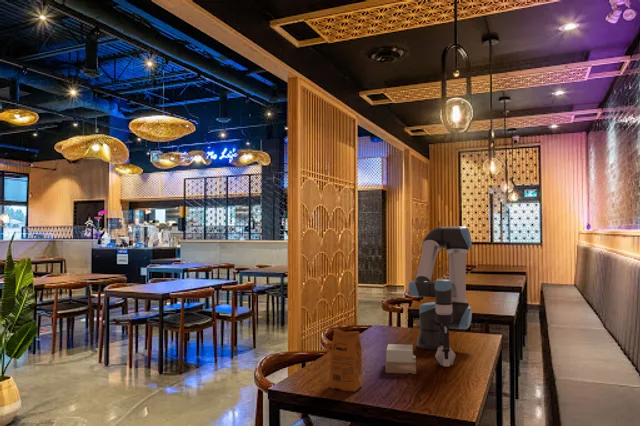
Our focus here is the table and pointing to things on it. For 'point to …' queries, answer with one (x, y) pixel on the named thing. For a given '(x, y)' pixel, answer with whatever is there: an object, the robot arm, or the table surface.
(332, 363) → the coffee package
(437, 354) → the die
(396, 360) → the top slab
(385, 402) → the table surface
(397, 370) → the bottom slab
